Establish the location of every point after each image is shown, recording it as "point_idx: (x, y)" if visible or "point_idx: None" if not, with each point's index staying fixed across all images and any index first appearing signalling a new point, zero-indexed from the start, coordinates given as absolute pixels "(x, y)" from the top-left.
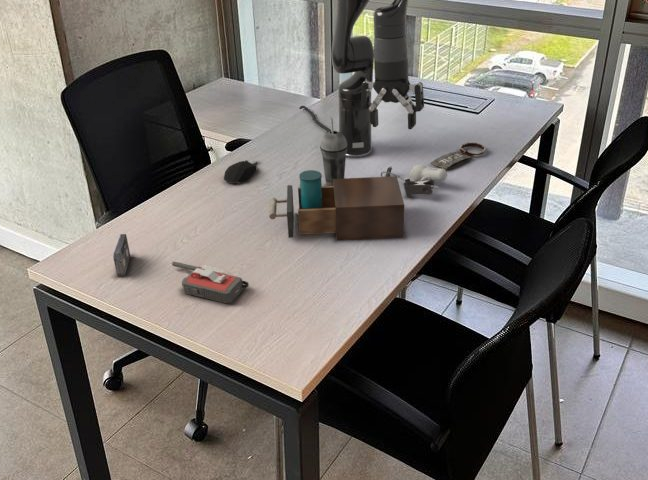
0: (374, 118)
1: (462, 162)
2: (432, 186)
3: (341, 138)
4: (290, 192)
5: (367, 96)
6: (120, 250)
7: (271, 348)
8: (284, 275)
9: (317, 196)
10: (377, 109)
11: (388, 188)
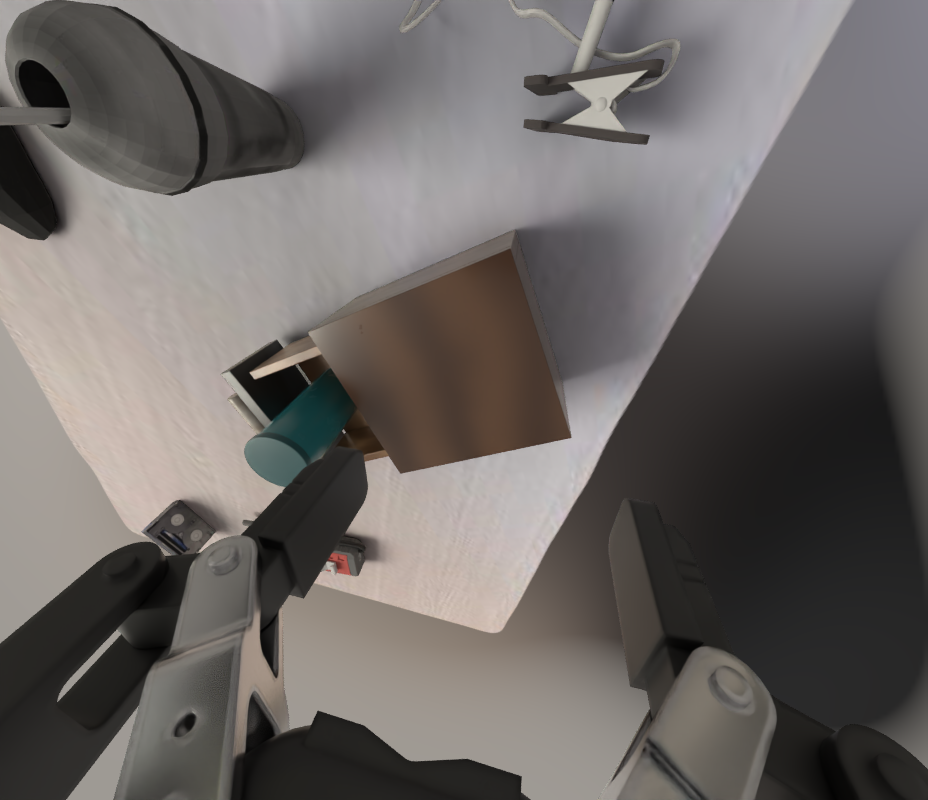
0: (330, 548)
1: None
2: (652, 86)
3: (130, 121)
4: (255, 407)
5: (74, 739)
6: None
7: (448, 605)
8: (392, 512)
9: (333, 441)
10: (282, 544)
11: (502, 355)
